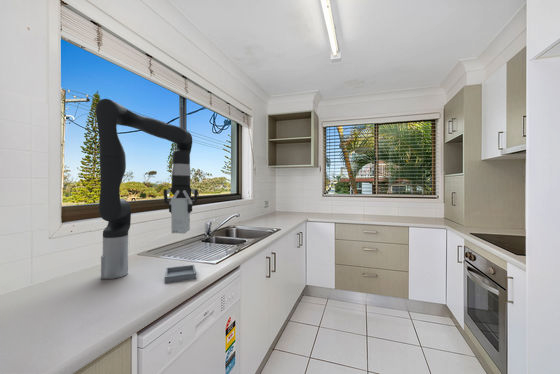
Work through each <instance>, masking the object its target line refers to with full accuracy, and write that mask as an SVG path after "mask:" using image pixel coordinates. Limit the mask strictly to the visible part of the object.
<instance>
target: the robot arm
mask: <svg viewBox="0 0 560 374" xmlns="http://www.w3.org/2000/svg"><path fill="white" fill-rule="evenodd" d="M95 115H96V122H97V129H98V131H97V132H98V140H99V141H98V143H99V169H100V170H99V172H100V173H99V174H100V180H99V182H100V190H99V191H100V192H99V201H98V213H99V216H100V217H101V219H102V220H104V221H106V222H107V226H106V227H105V228H104V229H103V231H102V255H101V256H100V280H102V279H105V280H111V279H118V278H123V277H125V276H127V275H128V274H129V230H130V228H131V219H132V218H131V217H132V207H131V204H130V203H129V201H128V200H126V199H123V198H121V194H120V193H121V191H120V188H121V184H122V180H123V178H124V177H125V173H126V167H127V164H126V163H127V161H126V159H127V158H126V157H127V156H126V151H125V148H124V146H123V143H121V141H120V140H121V139H120V138H119V134H118V129H117V128H118V127H117V126H124V127H130V128H132V129H136V130H139V131H141V132H144V133H146V134H148V135H150V136H154V137H156V138H160V139H162V140H163V139H164V140H166V141H169V142H172V143H174V144H176V147H175V148H176V149H175V150H174V151H173V152H172V167H171V188H168V189H166V188H165V189H163V200H164V204H168V212H169V213H171V200H169V199H168V194H170V193H171V194H172V195H173V196H172V197H171V199H173V198H187V200H188V202H189V213H190V214H191V213H192V212H193V204H197V202H198V192H199V191H198V189H193V188H192V187H191V174H192V173H191V158H190V157H191V152H192V147H193V136H192V134H191V133H190V132H189V131H188V130H186V129H185V128H182V127H180V126H177V125H173V124H168V123H167V122H164V121H161V120H159V119H156V118H153V117H152V118H151V117H148V116H144V115H140V114H138V113H135V112H133V111H132V110H129V109H128V108H126V107H125V106H123V105H122V104H120V103H118V102H116V101H114V100H112V99H109V98H101V99H100V100H98V102H97V104H96V106H95ZM191 193H192V194H193V200H192V199H191V198H190V194H191Z"/></svg>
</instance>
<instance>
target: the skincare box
mask: <svg viewBox="0 0 560 374" xmlns="http://www.w3.org/2000/svg"><path fill="white" fill-rule="evenodd" d="M170 201H171V212H170V214H171V217H170V218H171V220H170V221H171V224H170V225H171V227H170V228H171V234H186V233H188V232H190V230H191V224H190V221H191V220H190V219H191V218H190V216H191V213H189V202H188V200H187V198H173V199H172V198H171V199H170Z"/></svg>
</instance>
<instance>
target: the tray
mask: <svg viewBox="0 0 560 374" xmlns="http://www.w3.org/2000/svg"><path fill="white" fill-rule="evenodd" d="M195 267H196V266H195V264H188V265H181V266H170V267H169V266H168V267H165V270H164V271H165V272H164V284H171V283H175V282H176V283H177V282H183V281H192V280H197V271H196V268H195Z"/></svg>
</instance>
